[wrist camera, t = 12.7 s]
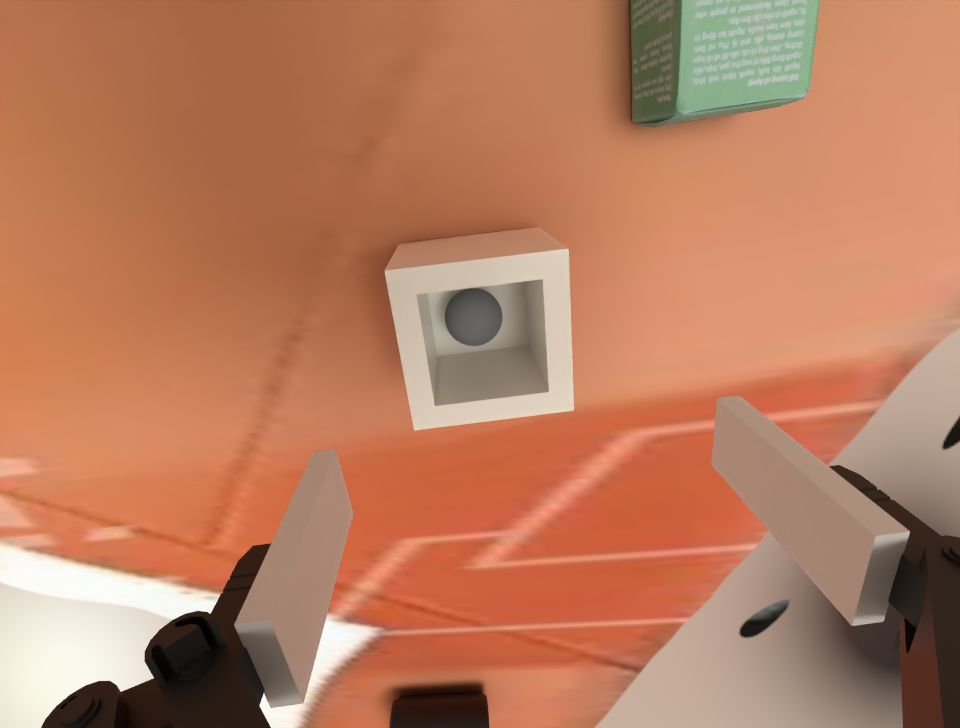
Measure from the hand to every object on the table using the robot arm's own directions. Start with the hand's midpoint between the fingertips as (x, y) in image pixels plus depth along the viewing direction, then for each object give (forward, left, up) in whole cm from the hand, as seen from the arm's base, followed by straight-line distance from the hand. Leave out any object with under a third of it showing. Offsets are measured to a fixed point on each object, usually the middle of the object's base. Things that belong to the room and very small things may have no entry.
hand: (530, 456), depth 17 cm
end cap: (+45, -10, -22) cm, 51 cm away
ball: (+1, -1, -18) cm, 18 cm away
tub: (0, -1, -21) cm, 21 cm away
